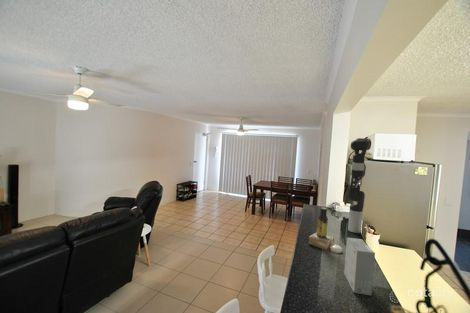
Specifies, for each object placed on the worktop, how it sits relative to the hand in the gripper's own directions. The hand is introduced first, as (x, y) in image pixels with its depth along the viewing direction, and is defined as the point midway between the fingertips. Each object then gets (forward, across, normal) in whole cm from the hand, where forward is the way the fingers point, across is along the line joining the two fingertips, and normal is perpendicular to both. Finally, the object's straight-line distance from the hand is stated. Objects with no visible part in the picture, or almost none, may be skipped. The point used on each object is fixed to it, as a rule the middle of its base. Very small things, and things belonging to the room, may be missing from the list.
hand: (356, 192), depth 147 cm
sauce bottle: (+31, +19, -14) cm, 39 cm away
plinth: (+36, +19, -14) cm, 43 cm away
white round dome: (+36, +20, -4) cm, 42 cm away
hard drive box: (+36, +48, +16) cm, 62 cm away
